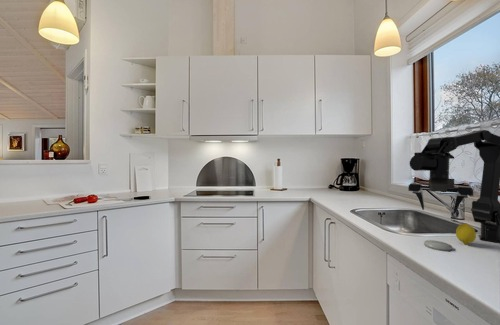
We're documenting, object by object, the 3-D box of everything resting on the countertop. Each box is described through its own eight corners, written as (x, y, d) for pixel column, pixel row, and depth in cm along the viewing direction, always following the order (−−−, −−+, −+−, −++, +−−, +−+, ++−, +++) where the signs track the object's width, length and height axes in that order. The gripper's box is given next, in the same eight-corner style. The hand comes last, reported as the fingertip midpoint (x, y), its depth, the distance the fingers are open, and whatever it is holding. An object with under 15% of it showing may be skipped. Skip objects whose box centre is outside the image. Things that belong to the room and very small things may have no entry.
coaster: (424, 241, 91) (424, 238, 91) (451, 246, 86) (451, 243, 86) (423, 247, 85) (423, 244, 85) (452, 253, 80) (452, 250, 80)
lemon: (465, 241, 91) (465, 221, 91) (479, 247, 86) (480, 225, 86) (451, 241, 91) (452, 221, 91) (465, 247, 86) (465, 225, 85)
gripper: (407, 170, 89) (406, 211, 89) (475, 172, 77) (474, 220, 77) (410, 169, 97) (409, 206, 98) (472, 171, 85) (471, 214, 86)
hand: (438, 211), depth 89 cm, fingers open, 9 cm apart
